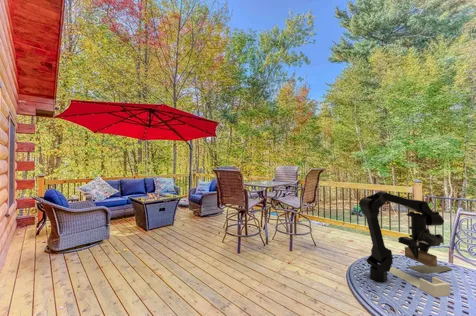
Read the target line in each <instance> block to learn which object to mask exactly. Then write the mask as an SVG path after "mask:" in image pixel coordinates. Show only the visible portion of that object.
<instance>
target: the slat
mask: <svg viewBox="0 0 476 316" xmlns="http://www.w3.org/2000/svg"><path fill="white" fill-rule="evenodd" d="M404 256H405V257H406V258H409V259H411V260H413V261H416V262H417V263H420V264H421V265H427V266H429V267H435V266H437V265H438V257H437V255H435V254H432V253H429V252H424V251H421V250H420V248H419V249H418V259H416V258H415V257H414V255H413V254H412V252H411V250H410V249H409V247H408V246H404Z"/></svg>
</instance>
